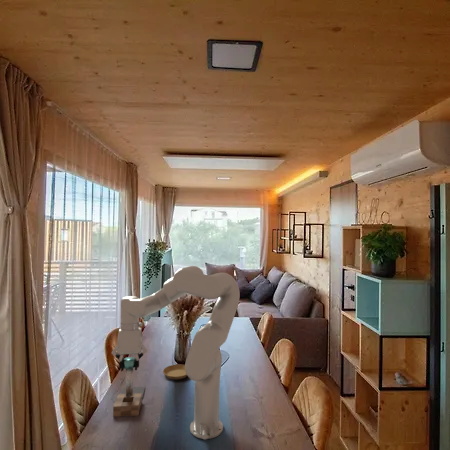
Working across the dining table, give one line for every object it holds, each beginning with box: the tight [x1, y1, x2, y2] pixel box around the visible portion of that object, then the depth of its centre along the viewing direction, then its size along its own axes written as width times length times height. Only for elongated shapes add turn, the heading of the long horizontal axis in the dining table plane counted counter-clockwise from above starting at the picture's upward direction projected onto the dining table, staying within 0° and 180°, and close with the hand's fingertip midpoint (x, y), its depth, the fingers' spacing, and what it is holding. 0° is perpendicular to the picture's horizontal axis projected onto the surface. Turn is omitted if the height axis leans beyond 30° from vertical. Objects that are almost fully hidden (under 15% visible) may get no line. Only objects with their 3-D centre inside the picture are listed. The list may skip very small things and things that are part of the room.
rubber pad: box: [120, 386, 146, 399], centre depth 149 cm, size 10×10×1 cm
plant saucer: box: [162, 363, 188, 380], centre depth 169 cm, size 15×15×3 cm
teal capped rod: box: [123, 356, 136, 397], centre depth 136 cm, size 5×5×15 cm
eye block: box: [112, 393, 143, 417], centre depth 136 cm, size 10×10×4 cm
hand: (129, 368), depth 136 cm, fingers closed on teal capped rod, 5 cm apart
